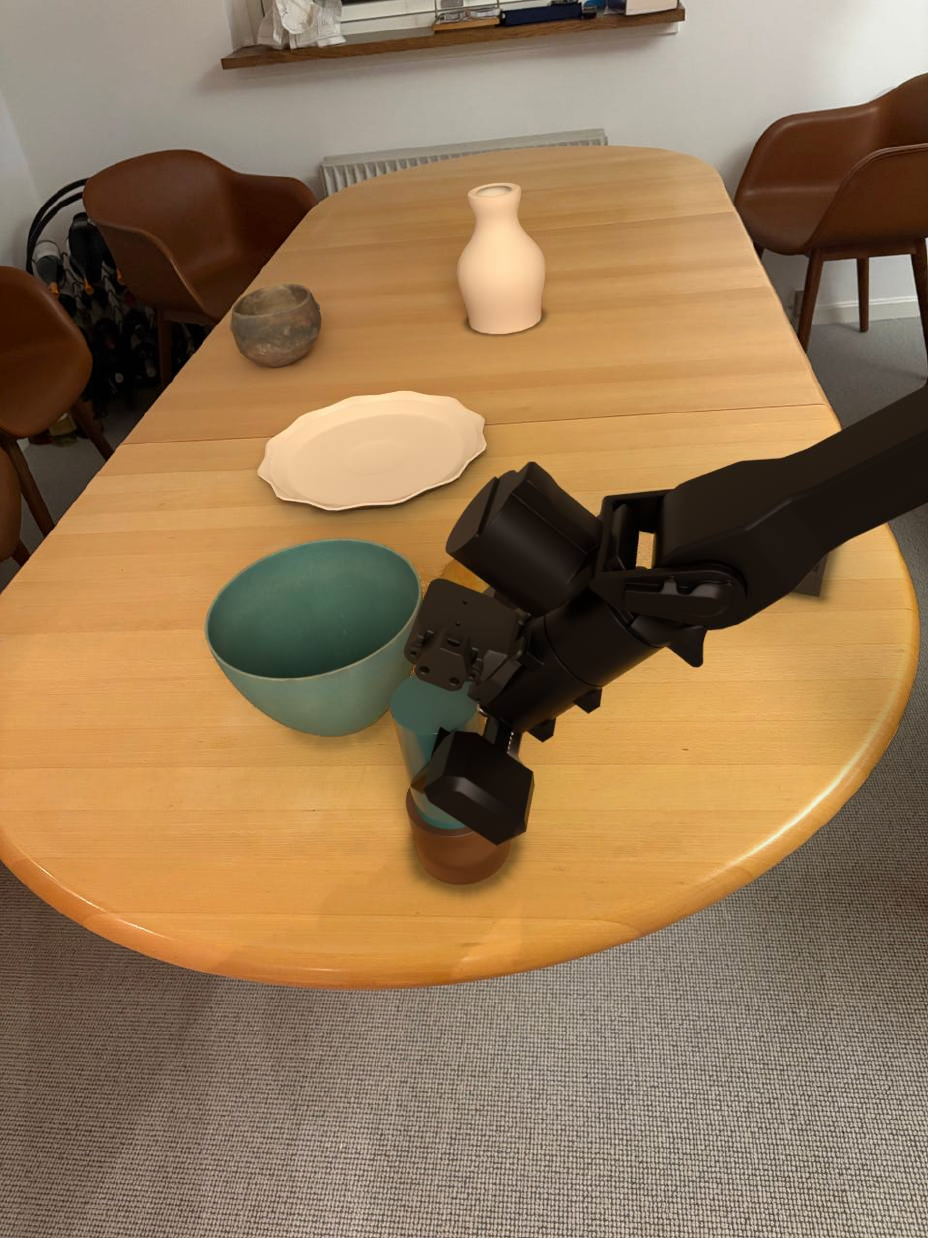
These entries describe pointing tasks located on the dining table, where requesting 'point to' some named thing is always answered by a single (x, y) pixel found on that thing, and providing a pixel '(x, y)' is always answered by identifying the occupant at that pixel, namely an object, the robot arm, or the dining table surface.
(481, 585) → the bread roll
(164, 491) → the dining table surface
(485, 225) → the vase
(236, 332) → the bowl
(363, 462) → the plate
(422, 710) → the teal cylinder
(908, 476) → the robot arm
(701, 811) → the dining table surface
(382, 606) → the teal bowl
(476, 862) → the stand
